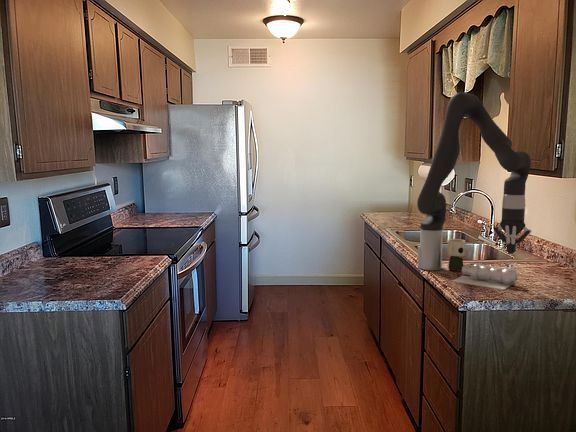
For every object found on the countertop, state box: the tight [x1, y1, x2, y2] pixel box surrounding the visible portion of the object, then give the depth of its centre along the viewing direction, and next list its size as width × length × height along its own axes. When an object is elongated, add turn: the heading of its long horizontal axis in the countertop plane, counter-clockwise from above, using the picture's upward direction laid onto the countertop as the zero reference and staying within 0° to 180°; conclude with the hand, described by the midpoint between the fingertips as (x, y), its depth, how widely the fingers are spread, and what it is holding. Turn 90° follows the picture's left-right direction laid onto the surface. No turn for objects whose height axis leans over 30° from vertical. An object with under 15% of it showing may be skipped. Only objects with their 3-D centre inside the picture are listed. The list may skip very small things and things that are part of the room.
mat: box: [452, 275, 512, 291], centre depth 183 cm, size 19×10×1 cm, turn 49°
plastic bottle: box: [461, 263, 519, 286], centre depth 183 cm, size 6×7×20 cm
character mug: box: [447, 238, 467, 272], centre depth 202 cm, size 11×7×13 cm, turn 133°
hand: (510, 253), depth 175 cm, fingers closed
